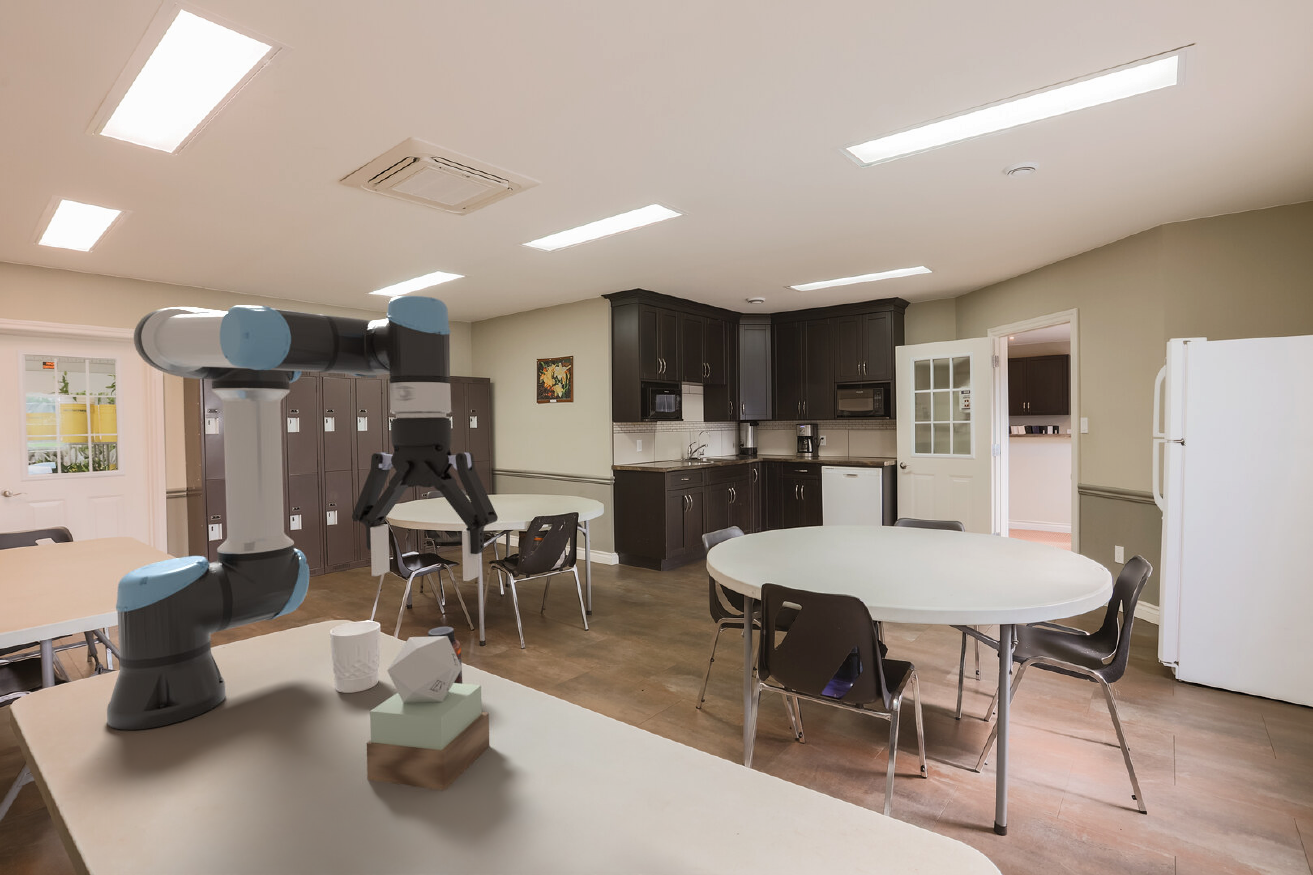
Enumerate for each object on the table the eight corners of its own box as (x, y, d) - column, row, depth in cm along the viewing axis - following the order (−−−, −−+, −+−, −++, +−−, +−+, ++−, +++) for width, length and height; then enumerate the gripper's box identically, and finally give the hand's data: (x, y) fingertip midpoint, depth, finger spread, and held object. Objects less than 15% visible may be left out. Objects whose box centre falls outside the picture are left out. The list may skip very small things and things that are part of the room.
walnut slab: (367, 781, 82) (366, 742, 81) (420, 739, 92) (419, 705, 92) (444, 792, 79) (443, 752, 79) (489, 748, 89) (488, 712, 89)
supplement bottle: (453, 687, 109) (451, 621, 109) (469, 698, 105) (467, 629, 105) (418, 698, 105) (416, 630, 105) (433, 710, 101) (431, 638, 101)
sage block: (370, 742, 82) (370, 711, 82) (417, 707, 91) (416, 679, 91) (441, 750, 79) (440, 717, 79) (481, 713, 89) (481, 685, 89)
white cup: (366, 672, 117) (364, 618, 117) (391, 682, 112) (389, 625, 112) (322, 687, 111) (321, 630, 110) (347, 698, 106) (345, 638, 106)
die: (419, 724, 79) (465, 653, 82) (363, 686, 80) (411, 617, 83) (439, 718, 87) (481, 653, 90) (388, 683, 88) (431, 620, 91)
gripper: (320, 417, 84) (324, 578, 85) (493, 414, 78) (497, 587, 79) (359, 417, 92) (363, 565, 92) (520, 414, 86) (523, 573, 86)
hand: (425, 576), depth 86 cm, fingers open, 13 cm apart
